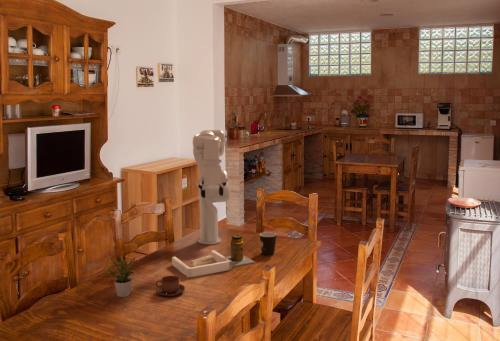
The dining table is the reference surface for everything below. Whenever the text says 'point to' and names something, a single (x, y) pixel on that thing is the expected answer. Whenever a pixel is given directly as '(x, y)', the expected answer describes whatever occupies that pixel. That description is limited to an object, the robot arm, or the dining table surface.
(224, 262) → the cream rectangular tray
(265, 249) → the coffee mug
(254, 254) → the dining table surface
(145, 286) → the dining table surface
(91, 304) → the dining table surface
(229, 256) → the mat
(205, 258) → the offcuts
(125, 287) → the house plant
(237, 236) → the condiment
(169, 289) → the cup and saucer
